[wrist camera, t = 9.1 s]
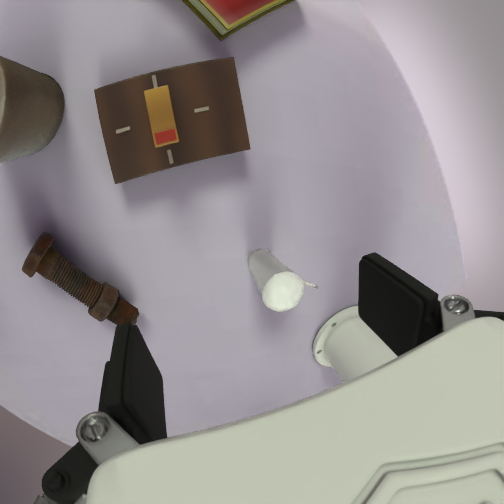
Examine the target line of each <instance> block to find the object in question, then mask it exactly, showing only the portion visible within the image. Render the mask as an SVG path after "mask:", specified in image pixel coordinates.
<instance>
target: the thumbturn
mask: <svg viewBox="0 0 504 504" xmlns="http://www.w3.org/2000/svg"><path fill="white" fill-rule="evenodd" d="M144 95H145V100H146V105H147V110H148V115H149V120H150V125H151V130H152V134H153V139H154V144H155V147H156V148H157V147H160V146H164V145H168V144H172V143H176V142H179V139H178V134H177V129H176V124H175V120H174V115H173V110H172V104H171V99H170V94H169V89H168V85H166V86H161V87H157V88H153V89H150V90H146V91H144Z"/></svg>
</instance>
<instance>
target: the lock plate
mask: <svg viewBox="0 0 504 504" xmlns="http://www.w3.org/2000/svg"><path fill="white" fill-rule="evenodd" d="M166 85H168V89H169V94H170V99H171V104H172V110H173V115H174V120H175V124H176V129H177V134H178V139H179V142H176V143H172V144H168V145H164V146H160V147H157V148H156V147H155V144H154V139H153V134H152V130H151V125H150V120H149V115H148V110H147V105H146V100H145V95H144V91H146V90H150V89H153V88H157V87H161V86H166ZM94 92H95V98H96V103H97V109H98V114H99V119H100V124H101V128H102V133H103V137H104V142H105V146H106V150H107V154H108V159H109V163H110V166H111V170H112V174H113V178H114V182H115V184H118V183H121V182H124V181H127V180H130V179H134V178H137V177H140V176H144V175H147V174H150V173H154V172H157V171H161V170H165V169H168V168H172V167H176V166H180V165H183V164H187V163H191V162H195V161H199V160H204V159H208V158H212V157H216V156H221V155H225V154H230V153H235V152H239V151H244V150H249V149H250V144H249V138H248V133H247V127H246V121H245V116H244V111H243V105H242V100H241V94H240V89H239V84H238V78H237V73H236V68H235V62H234V58H233V57H231V58H223V59H216V60H209V61H203V62H197V63H192V64H187V65H182V66H177V67H172V68H168V69H163V70H159V71H155V72H151V73H147V74H143V75H140V76H136V77H133V78H129V79H126V80H122V81H119V82H116V83H113V84H110V85H107V86H104V87H101V88H98V89H95V90H94Z"/></svg>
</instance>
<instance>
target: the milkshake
mask: <svg viewBox="0 0 504 504" xmlns="http://www.w3.org/2000/svg"><path fill="white" fill-rule="evenodd" d="M248 264H249V269H250V271H251V273H252V275H253V278H254V280H255V282H256V284H257V286H258V289H259V291H260V294H261V296H262V299H263V301H264V303H265V305H266V306H267V307H268V308H270V309H272V310H274V311H279V312H281V311H286V310H288V309H291V308H294V307H295V306H296V305H297V304H298V302H299V300H300V299H301V297H302V295H303V292H304V285H303V284H306V285H309V286H312V287H315V288H318V286H317V285H315V284H312V283H309V282H306V281H303V280H301V278H300V277H299V276H298V275H297V274H296V273H294V272H293V271H292V270H291V269H289V268H288V267H287V266H285V265H284V264H283V263H282V262H280V261H279V260H278V259H277V258H276V257H275V256H274V255H273V254H271V253H270V252H269V251H268V250H265V249H258V250H256V251H254V252H252V254H251V255H250V257H249V259H248Z"/></svg>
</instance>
